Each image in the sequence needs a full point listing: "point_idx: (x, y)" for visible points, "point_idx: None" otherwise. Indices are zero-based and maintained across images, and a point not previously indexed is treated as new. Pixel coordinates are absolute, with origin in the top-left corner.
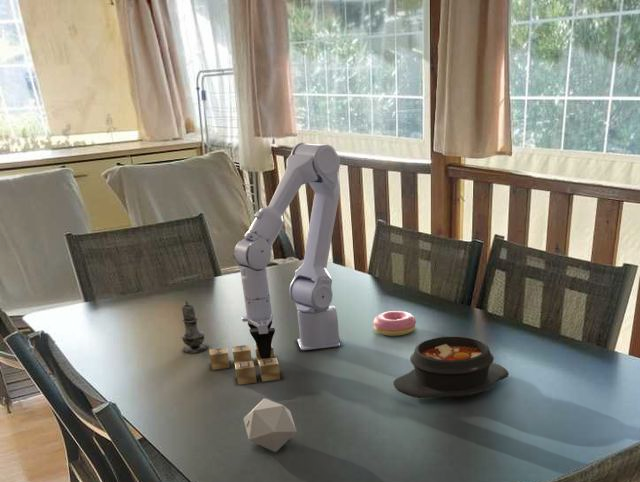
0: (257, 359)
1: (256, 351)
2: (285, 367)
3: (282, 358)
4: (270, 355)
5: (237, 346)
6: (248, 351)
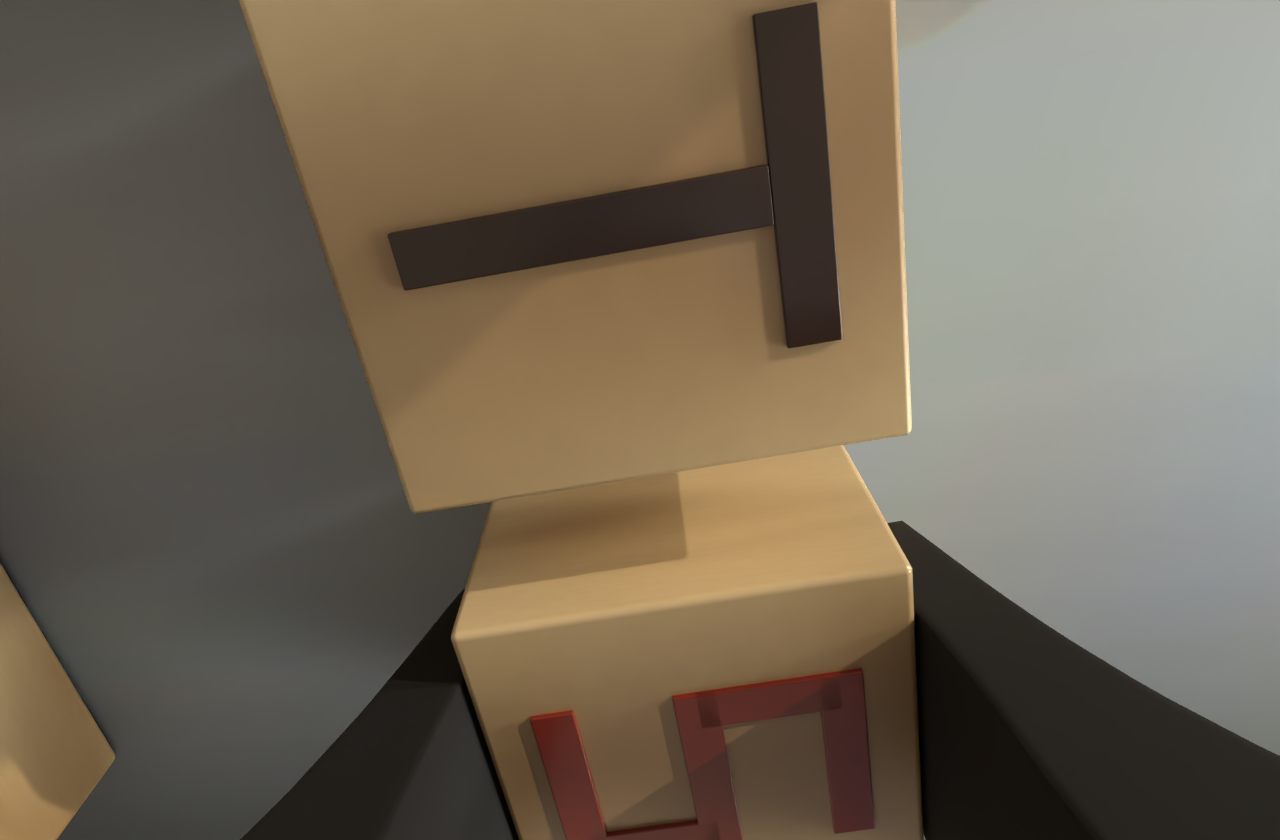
0: (493, 503)
1: (464, 611)
2: None
3: None
4: None
5: (817, 68)
6: (405, 448)
